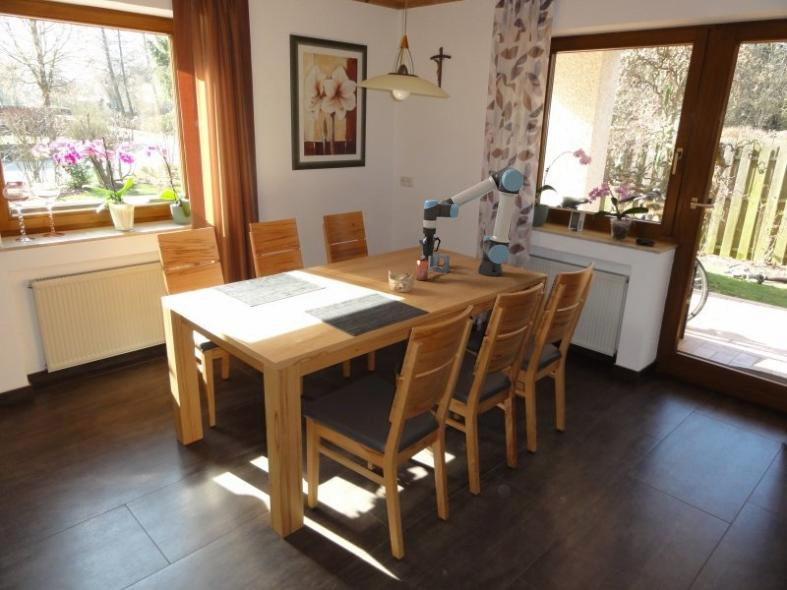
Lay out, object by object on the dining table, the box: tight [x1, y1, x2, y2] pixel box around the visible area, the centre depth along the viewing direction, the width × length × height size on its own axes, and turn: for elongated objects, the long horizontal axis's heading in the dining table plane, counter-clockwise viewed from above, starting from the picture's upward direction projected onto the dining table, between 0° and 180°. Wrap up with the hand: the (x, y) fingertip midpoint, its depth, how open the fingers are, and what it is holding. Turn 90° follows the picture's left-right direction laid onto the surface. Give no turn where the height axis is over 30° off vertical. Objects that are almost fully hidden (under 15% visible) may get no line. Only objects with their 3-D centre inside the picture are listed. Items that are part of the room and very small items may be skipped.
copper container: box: [415, 257, 437, 281], centre depth 326 cm, size 7×21×12 cm, turn 148°
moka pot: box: [417, 236, 442, 267], centre depth 351 cm, size 10×15×20 cm, turn 115°
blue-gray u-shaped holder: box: [432, 252, 451, 274], centre depth 340 cm, size 10×6×11 cm, turn 58°
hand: (427, 266), depth 325 cm, fingers closed
